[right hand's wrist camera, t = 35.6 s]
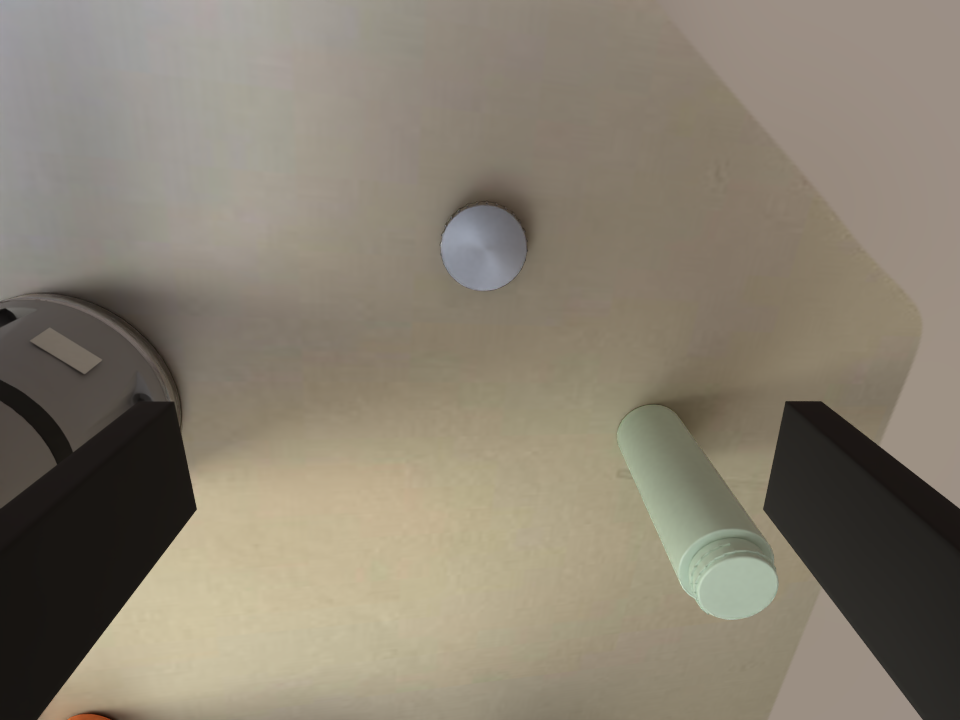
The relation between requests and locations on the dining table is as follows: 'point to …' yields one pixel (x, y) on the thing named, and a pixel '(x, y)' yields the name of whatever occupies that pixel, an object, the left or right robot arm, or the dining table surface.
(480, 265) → the lid
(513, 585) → the dining table surface
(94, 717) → the cup with straw
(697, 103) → the dining table surface
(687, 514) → the bottle
